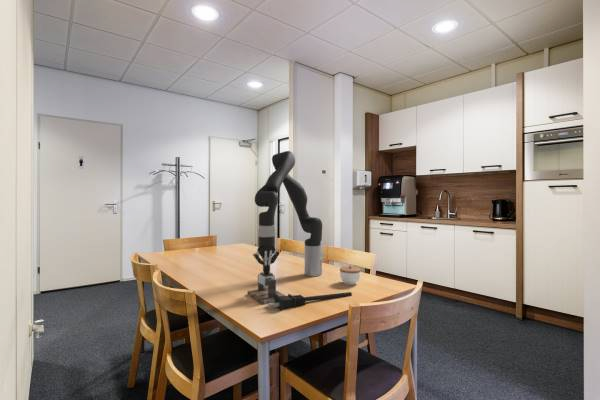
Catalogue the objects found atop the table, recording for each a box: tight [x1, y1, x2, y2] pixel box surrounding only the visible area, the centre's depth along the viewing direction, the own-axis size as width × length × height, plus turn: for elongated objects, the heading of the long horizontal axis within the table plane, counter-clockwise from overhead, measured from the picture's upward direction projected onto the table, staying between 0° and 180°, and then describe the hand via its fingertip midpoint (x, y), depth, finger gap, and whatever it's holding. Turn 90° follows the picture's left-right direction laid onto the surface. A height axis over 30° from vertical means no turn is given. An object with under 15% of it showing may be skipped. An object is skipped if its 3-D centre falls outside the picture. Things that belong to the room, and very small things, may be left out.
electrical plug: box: [263, 291, 353, 312], centre depth 138 cm, size 9×42×5 cm, turn 116°
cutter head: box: [257, 271, 276, 291], centre depth 144 cm, size 7×5×8 cm
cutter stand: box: [247, 278, 286, 305], centre depth 144 cm, size 16×12×9 cm
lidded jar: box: [339, 265, 362, 286], centre depth 167 cm, size 11×11×9 cm
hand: (266, 273), depth 144 cm, fingers closed
